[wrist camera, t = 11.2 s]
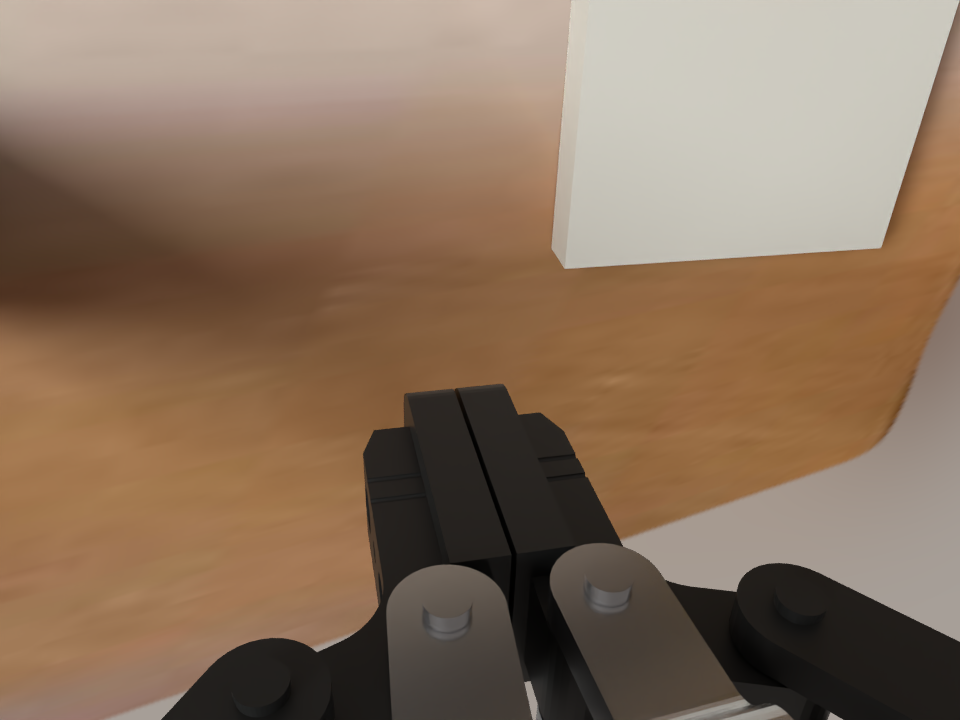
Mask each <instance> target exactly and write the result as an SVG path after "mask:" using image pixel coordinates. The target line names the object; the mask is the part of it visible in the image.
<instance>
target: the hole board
mask: <svg viewBox="0 0 960 720" xmlns="http://www.w3.org/2000/svg"><path fill="white" fill-rule="evenodd" d="M958 4H959V0H571V11H570V24H569V36H568V49H567V61H566V74H565V86H564V98H563V111H562V123H561V136H560V148H559V161H558V173H557V185H556V198H555V210H554V223H553V235H552V250H553V252H554V253H555V255H556V256H557V258H558V259H559V261H560V262H561V264H562V265H563V267H564V268H565V269H570V268H585V267H601V266H616V265H631V264H646V263H661V262H677V261H692V260H707V259H722V258H737V257H752V256H768V255H783V254H798V253H813V252H828V251H844V250H859V249H874V248H881V246H882V243H883V240H884V237H885V234H886V231H887V228H888V224H889V221H890V218H891V215H892V212H893V209H894V205H895V202H896V199H897V196H898V193H899V190H900V187H901V183H902V180H903V177H904V174H905V171H906V168H907V164H908V161H909V158H910V155H911V152H912V149H913V146H914V142H915V139H916V136H917V133H918V130H919V127H920V123H921V120H922V117H923V114H924V111H925V108H926V105H927V101H928V98H929V95H930V92H931V89H932V86H933V82H934V79H935V76H936V73H937V70H938V67H939V64H940V60H941V57H942V54H943V51H944V48H945V45H946V41H947V38H948V35H949V32H950V29H951V26H952V23H953V19H954V16H955V13H956V10H957V7H958Z"/></svg>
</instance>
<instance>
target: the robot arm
mask: <svg viewBox="0 0 960 720" xmlns="http://www.w3.org/2000/svg"><path fill="white" fill-rule="evenodd" d="M363 459H364V476H365V492H366V509H367V525H368V536H369V542H370V549H371V556H372V563H373V570H374V577H375V583H376V590H377V597H378V604H379V607H378V609H377V610H376V612H375V614H374V615H373V617H372V618H371V619H370V620H369V622H368V623H367V624H366V625H364V626H363V627H362V628H361V629H360V630H359V631H357V632H356V633H355V634H353V635H352V636H350V637H348V638H347V639H345V640H343V641H341V642H339V643H337V644H334V645H332V646H330V647H328V648H326V649H323V650H321V651H319V652H316V651H314V650H313V649H312V648H310V647H309V646H307V645H305V644H303V643H300V642H297V641H295V640H289V639H284V638H269V639H261V640H257V641H252V642H249V643H246V644H244V645H241V646H238V647H237V648H235V649H233V650H231V651H229V652H227V653H226V654H225V655H223V656H222V657H221V658H219V659H218V660H217V661H216V662H215V663H214V664H213V665H211V666H210V667H209V668H208V670H207V671H206V672H205V673H204V674H203V675H202V676H201V677H200V678H199V679H198V680H197V681H196V683H195V684H194V685H193V686H192V687H191V688H190V689H189V690H188V691H187V692H186V693H185V695H184V696H183V697H182V698H181V699H180V700H179V701H178V702H177V703H176V704H175V705H174V707H173V708H172V709H171V710H170V711H169V712H168V713H167V714H166V715H165V716H164V717H163V718H162V719H161V720H533V719H532V715H531V711H530V706H529V701H528V697H527V692H526V688H525V683H524V682H527V681H531V684H532V687H533V690H534V693H535V697H536V700H537V703H538V705H537V715H536V720H827V719H828V717H829V714H830V712H831V713H833V714H835V715H837V716H838V717H840V718H842V719H843V720H960V642H959V641H957V640H955V639H953V638H951V637H949V636H946V635H945V634H942V633H940V632H938V631H936V630H934V629H932V628H930V627H928V626H926V625H924V624H922V623H920V622H918V621H916V620H914V619H912V618H910V617H907V616H906V615H904V614H902V613H900V612H897V611H895V610H893V609H891V608H889V607H887V606H885V605H883V604H881V603H879V602H877V601H875V600H873V599H871V598H869V597H867V596H865V595H863V594H861V593H859V592H857V591H855V590H853V589H851V588H849V587H846V586H844V585H842V584H840V583H838V582H836V581H834V580H832V579H830V578H828V577H826V576H824V575H822V574H820V573H818V572H815V571H813V570H811V569H808V568H804V567H801V566H797V565H792V564H782V563H775V564H766V565H761V566H758V567H756V568H753V569H752V570H750V571H749V572H747V573H746V574H745V575H744V577H743V578H742V579H741V581H740V582H739V585H738V589H737V592H733V591H724V590H715V589H707V588H698V587H690V586H684V585H679V584H676V583H672V582H669V581H667V580H665V579H664V578H663V576H662V575H661V573H660V572H659V571H658V569H657V568H656V567H655V566H654V565H653V564H652V563H651V562H650V561H649V560H648V559H646V558H645V557H643V556H642V555H640V554H639V553H637V552H635V551H633V550H630V549H628V548H625V547H623V545H622V544H621V541H620V539H619V537H618V536H617V534H616V532H615V530H614V528H613V526H612V524H611V522H610V520H609V518H608V516H607V514H606V512H605V510H604V508H603V506H602V505H601V503H600V501H599V499H598V497H597V495H596V493H595V491H594V489H593V487H592V485H591V483H590V481H589V479H588V477H585V472H584V470H583V468H582V466H581V464H580V462H579V460H578V458H576V457H575V452H574V450H573V448H572V446H571V444H570V443H569V441H568V439H567V437H566V435H565V433H564V431H563V430H562V429H560V428H559V427H558V426H557V425H555V424H554V423H553V422H552V421H550V420H549V419H548V418H546V417H545V416H544V415H543V414H541V413H531V414H522V415H518V414H517V411H516V409H515V407H514V405H513V403H512V400H511V398H510V396H509V394H508V391H507V389H506V387H505V386H504V385H503V384H495V385H485V386H475V387H465V388H456V389H455V391H454V390H453V389H446V390H436V391H426V392H416V393H406V394H405V395H404V427H401V428H392V429H382V430H374V432H373V434H372V436H371V438H370V440H369V442H368V444H367V446H366V449H365V451H364V453H363Z"/></svg>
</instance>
